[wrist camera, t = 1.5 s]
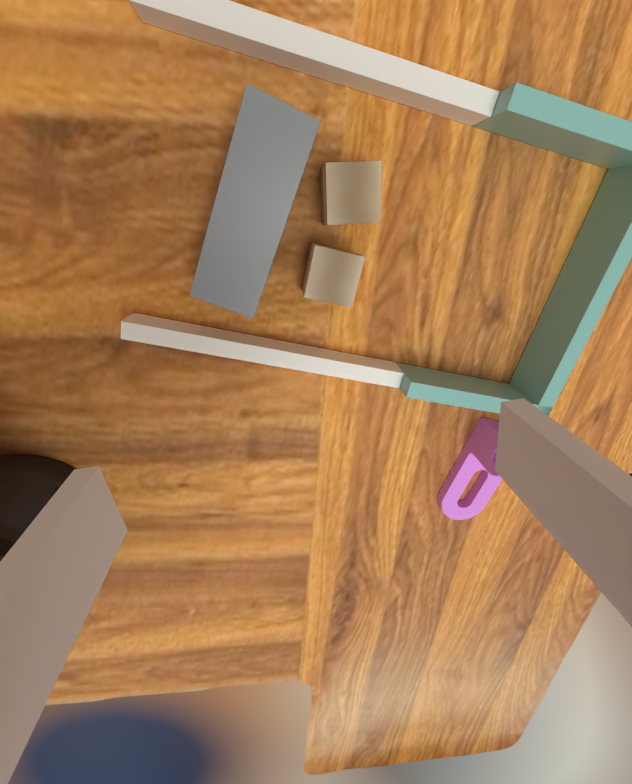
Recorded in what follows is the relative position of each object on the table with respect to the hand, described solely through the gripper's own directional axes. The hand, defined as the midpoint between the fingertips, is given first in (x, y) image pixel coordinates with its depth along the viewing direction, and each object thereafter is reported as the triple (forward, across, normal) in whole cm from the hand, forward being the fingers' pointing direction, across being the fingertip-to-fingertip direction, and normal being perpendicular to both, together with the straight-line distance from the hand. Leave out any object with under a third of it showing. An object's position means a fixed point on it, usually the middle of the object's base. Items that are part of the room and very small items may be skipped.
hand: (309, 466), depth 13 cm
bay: (+24, +20, 0) cm, 31 cm away
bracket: (+24, +19, -22) cm, 38 cm away
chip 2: (+24, +4, +3) cm, 25 cm away
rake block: (+24, -2, +8) cm, 26 cm away
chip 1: (+24, +6, +8) cm, 26 cm away
